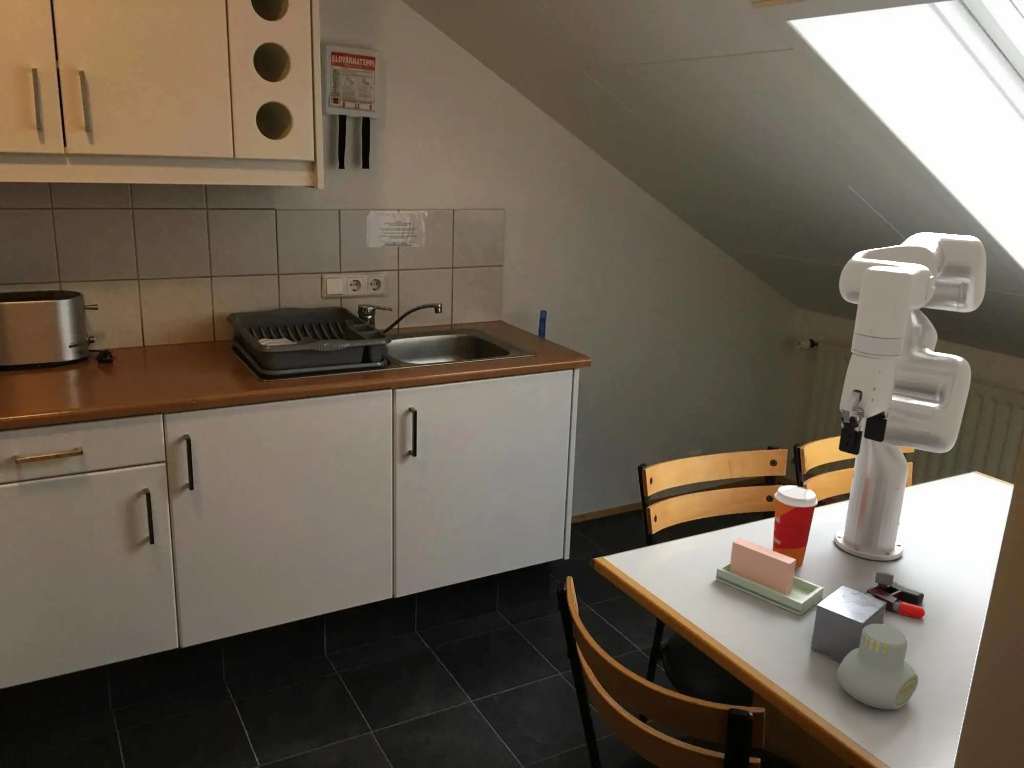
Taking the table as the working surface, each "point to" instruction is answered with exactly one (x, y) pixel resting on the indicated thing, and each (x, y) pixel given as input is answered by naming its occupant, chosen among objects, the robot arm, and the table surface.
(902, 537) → the table surface
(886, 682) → the air freshener
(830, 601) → the dispenser
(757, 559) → the pink rectangular block
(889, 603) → the toy gun
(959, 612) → the table surface
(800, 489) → the paper cup
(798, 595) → the tray
